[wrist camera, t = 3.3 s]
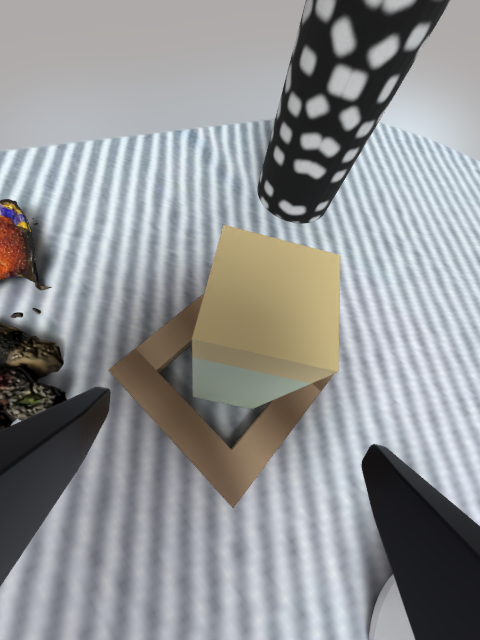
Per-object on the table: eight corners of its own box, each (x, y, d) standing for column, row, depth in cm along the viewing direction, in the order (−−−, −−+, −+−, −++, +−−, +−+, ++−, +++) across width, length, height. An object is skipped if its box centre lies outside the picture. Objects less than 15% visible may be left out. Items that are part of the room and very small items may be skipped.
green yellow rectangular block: (251, 409, 20) (338, 371, 8) (192, 397, 19) (192, 338, 8) (260, 353, 22) (340, 255, 10) (206, 341, 21) (223, 224, 9)
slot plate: (230, 503, 17) (233, 509, 16) (113, 373, 19) (107, 369, 18) (329, 373, 22) (337, 370, 20) (227, 281, 24) (228, 272, 22)
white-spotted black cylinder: (341, 211, 30) (562, -125, 12) (284, 232, 27) (461, -163, 9) (300, 164, 32) (435, -178, 14) (244, 179, 30) (323, -221, 12)
